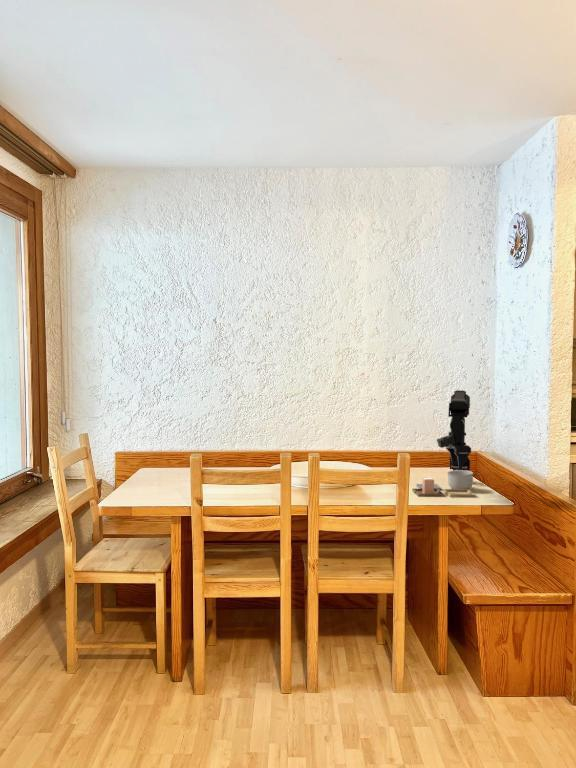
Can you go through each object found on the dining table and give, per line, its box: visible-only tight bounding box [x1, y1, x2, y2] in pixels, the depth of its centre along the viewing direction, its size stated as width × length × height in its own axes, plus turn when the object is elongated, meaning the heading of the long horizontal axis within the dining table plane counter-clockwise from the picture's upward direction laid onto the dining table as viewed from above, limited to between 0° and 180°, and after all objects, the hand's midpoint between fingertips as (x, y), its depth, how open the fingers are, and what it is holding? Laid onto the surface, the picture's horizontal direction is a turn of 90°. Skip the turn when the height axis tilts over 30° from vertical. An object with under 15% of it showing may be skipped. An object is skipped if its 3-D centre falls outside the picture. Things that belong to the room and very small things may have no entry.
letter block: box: [421, 477, 435, 494], centre depth 279 cm, size 4×4×6 cm
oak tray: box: [442, 488, 477, 498], centre depth 279 cm, size 11×11×2 cm
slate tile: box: [416, 483, 443, 492], centre depth 290 cm, size 9×9×2 cm
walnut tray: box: [412, 488, 445, 498], centre depth 279 cm, size 11×11×2 cm
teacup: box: [447, 470, 474, 490], centre depth 292 cm, size 14×11×8 cm
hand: (457, 466), depth 278 cm, fingers open, 9 cm apart
